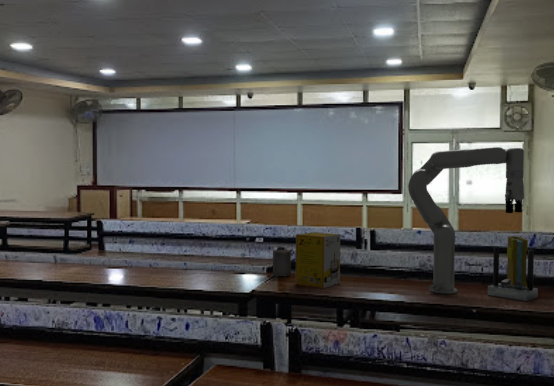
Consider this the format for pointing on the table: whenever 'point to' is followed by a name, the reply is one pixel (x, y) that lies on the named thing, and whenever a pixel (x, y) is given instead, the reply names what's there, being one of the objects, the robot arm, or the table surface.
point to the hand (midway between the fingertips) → (513, 212)
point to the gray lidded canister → (281, 263)
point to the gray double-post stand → (510, 289)
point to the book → (517, 259)
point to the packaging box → (318, 259)
